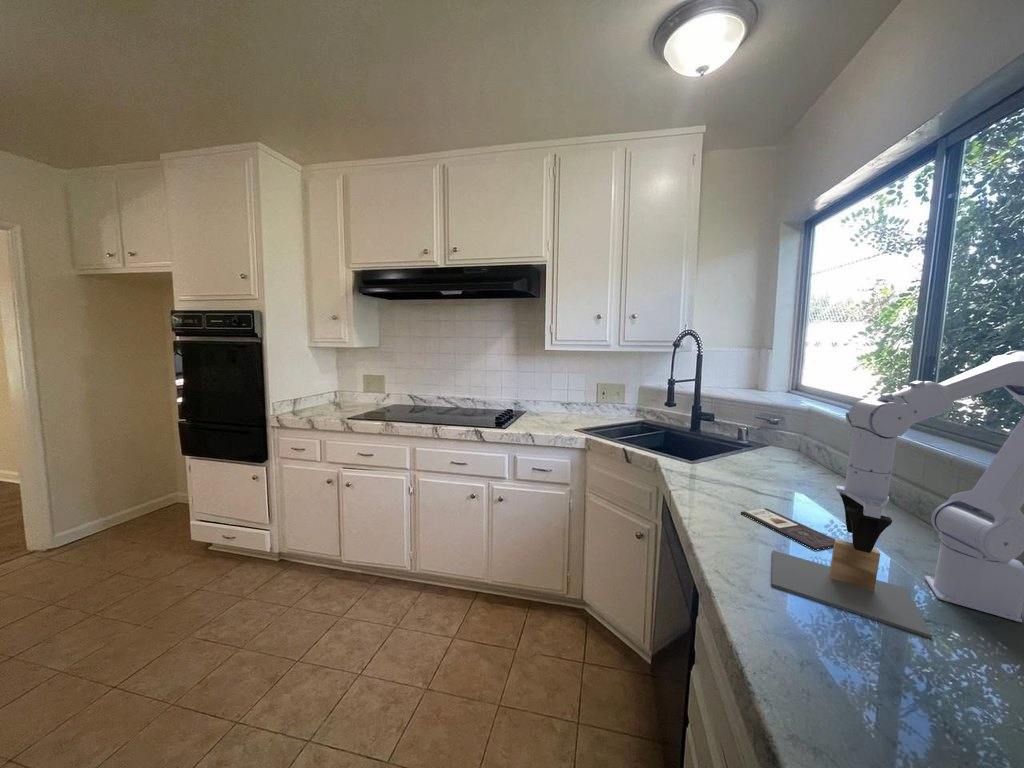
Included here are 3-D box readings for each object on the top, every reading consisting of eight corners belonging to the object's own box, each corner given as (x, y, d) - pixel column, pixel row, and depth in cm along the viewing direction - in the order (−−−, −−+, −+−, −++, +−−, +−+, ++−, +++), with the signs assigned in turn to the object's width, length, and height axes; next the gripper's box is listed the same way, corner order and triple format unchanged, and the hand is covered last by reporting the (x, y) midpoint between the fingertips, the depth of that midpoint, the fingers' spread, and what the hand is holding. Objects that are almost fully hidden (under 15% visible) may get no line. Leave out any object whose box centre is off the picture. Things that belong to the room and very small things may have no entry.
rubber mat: (905, 590, 70) (906, 588, 69) (931, 638, 58) (932, 635, 58) (772, 552, 81) (772, 550, 81) (771, 586, 69) (771, 583, 69)
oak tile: (871, 585, 70) (877, 548, 69) (874, 591, 68) (880, 553, 67) (829, 573, 73) (834, 538, 72) (830, 578, 71) (835, 542, 71)
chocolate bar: (815, 548, 82) (740, 511, 99) (814, 552, 82) (740, 515, 99) (843, 543, 85) (766, 508, 102) (843, 547, 85) (766, 511, 102)
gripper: (834, 454, 76) (825, 520, 78) (845, 473, 64) (834, 551, 66) (883, 462, 72) (872, 531, 74) (904, 484, 60) (891, 565, 62)
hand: (858, 541), depth 70 cm, fingers open, 7 cm apart
